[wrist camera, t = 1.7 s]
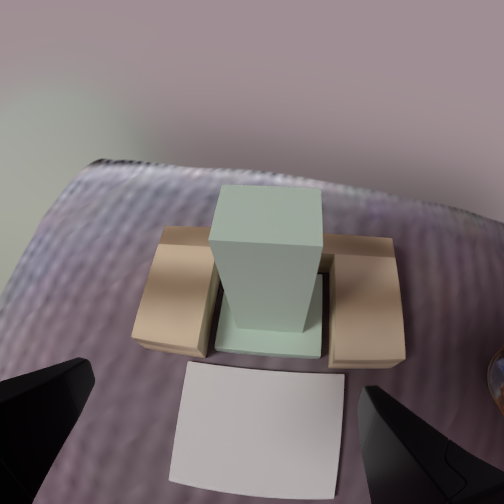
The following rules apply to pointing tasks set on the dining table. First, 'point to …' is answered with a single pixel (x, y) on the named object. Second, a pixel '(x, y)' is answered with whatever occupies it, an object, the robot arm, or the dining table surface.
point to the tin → (497, 378)
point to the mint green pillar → (269, 270)
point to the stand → (332, 261)
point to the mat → (259, 432)
